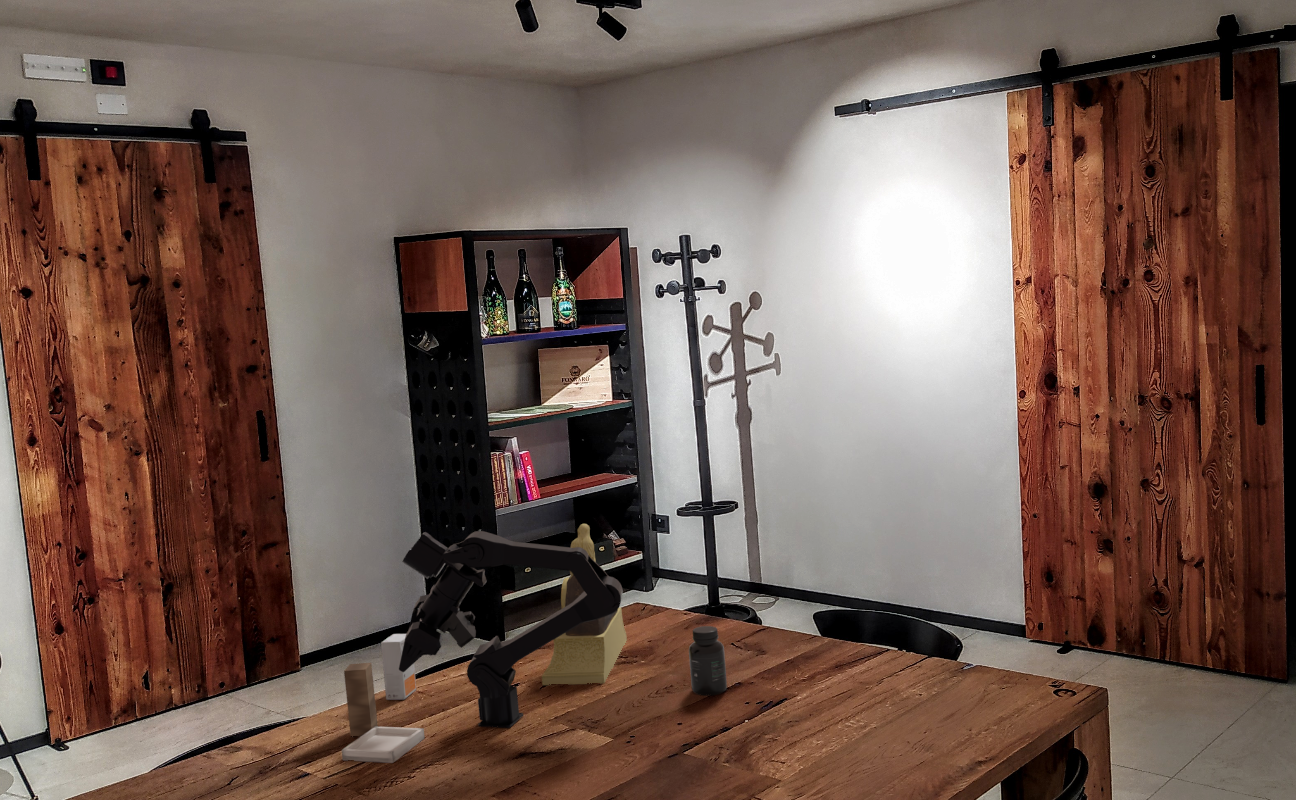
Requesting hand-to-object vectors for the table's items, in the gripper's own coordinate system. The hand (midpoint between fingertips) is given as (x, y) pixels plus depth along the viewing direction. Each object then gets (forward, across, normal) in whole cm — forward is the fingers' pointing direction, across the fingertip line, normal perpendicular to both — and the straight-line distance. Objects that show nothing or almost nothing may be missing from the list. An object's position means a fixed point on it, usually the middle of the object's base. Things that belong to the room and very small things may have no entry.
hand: (403, 660), depth 202 cm
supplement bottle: (-24, +1, -53) cm, 58 cm away
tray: (+12, -10, -4) cm, 16 cm away
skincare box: (+14, +19, -6) cm, 24 cm away
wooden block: (+15, -1, -1) cm, 15 cm away
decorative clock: (-8, +27, -37) cm, 47 cm away
